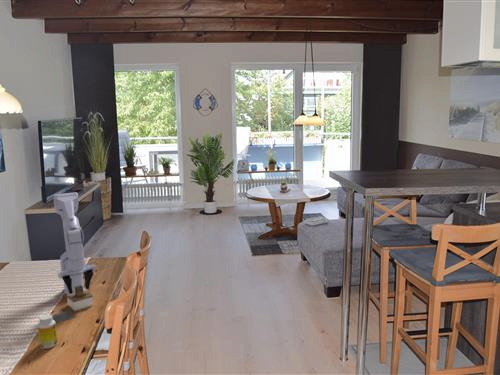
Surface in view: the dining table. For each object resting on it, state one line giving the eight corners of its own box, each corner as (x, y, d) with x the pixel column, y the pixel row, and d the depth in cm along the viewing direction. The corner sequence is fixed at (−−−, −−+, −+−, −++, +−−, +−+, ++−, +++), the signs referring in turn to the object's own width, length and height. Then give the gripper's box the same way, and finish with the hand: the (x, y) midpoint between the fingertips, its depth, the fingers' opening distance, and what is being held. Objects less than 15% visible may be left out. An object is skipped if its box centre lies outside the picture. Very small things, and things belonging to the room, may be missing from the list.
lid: (66, 296, 186) (65, 286, 185) (85, 291, 191) (84, 281, 190) (73, 302, 180) (72, 291, 179) (92, 296, 185) (92, 286, 184)
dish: (67, 305, 187) (67, 296, 186) (85, 300, 191) (85, 291, 191) (74, 311, 181) (73, 302, 180) (92, 306, 186) (92, 296, 185)
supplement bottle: (58, 346, 154) (55, 318, 152) (40, 350, 151) (36, 322, 150) (57, 339, 159) (54, 312, 157) (39, 343, 156) (36, 315, 155)
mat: (48, 316, 177) (48, 316, 177) (69, 310, 182) (69, 310, 182) (55, 323, 171) (55, 323, 171) (76, 317, 176) (76, 316, 176)
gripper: (61, 265, 175) (64, 298, 177) (97, 256, 185) (100, 288, 187) (55, 260, 181) (58, 293, 183) (90, 253, 190) (93, 284, 192)
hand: (79, 290), depth 185 cm, fingers open, 6 cm apart
